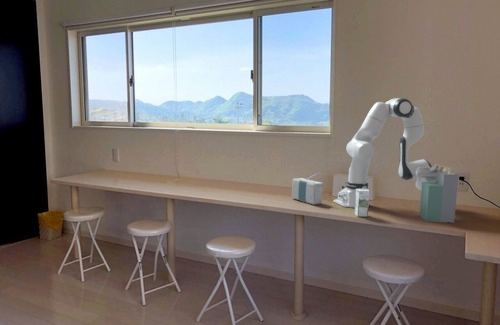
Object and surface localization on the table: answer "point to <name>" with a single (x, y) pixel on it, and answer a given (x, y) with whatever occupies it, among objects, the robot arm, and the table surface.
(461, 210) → the table surface
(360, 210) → the syrup box
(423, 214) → the stepped riser
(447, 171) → the ash rod
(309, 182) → the stereo radio cassette player
